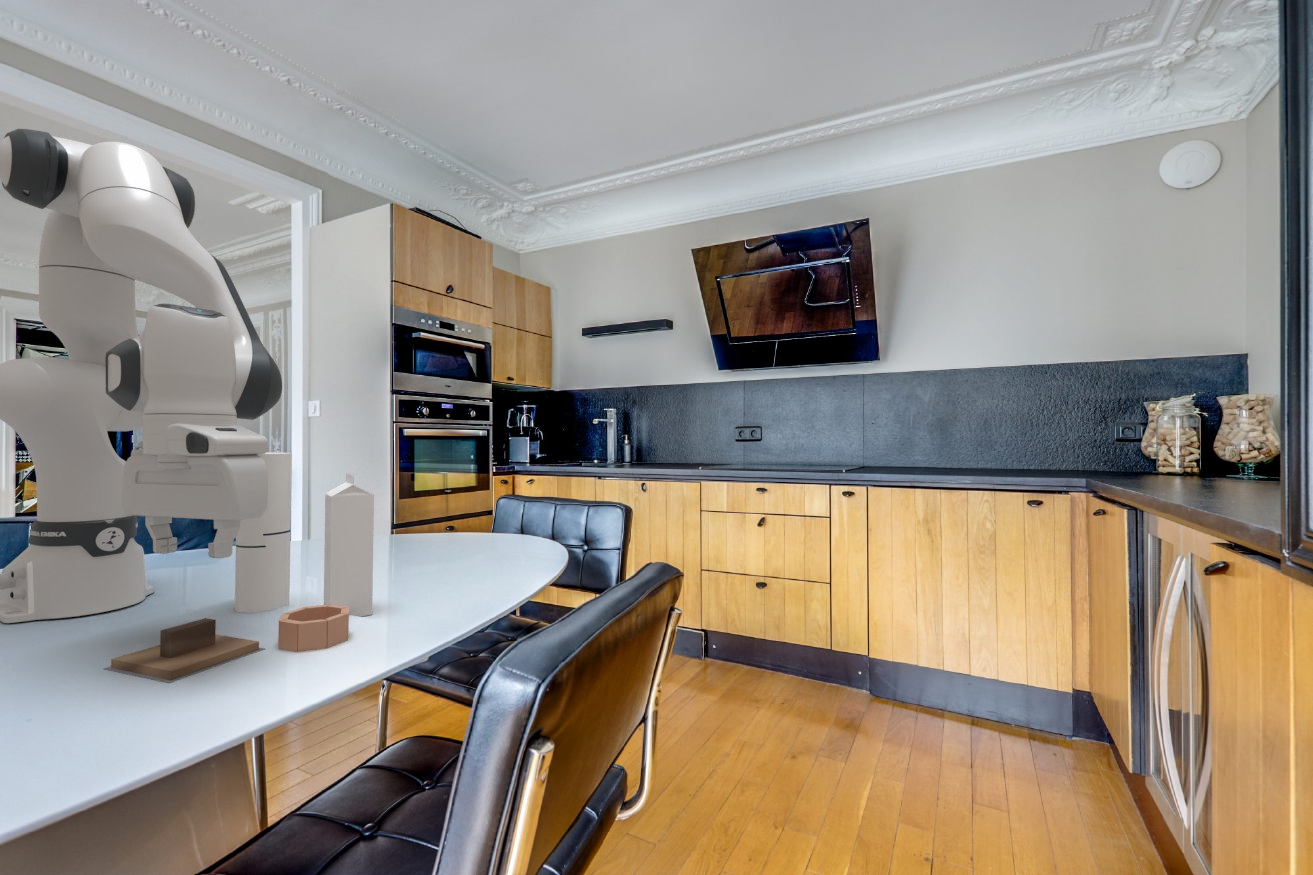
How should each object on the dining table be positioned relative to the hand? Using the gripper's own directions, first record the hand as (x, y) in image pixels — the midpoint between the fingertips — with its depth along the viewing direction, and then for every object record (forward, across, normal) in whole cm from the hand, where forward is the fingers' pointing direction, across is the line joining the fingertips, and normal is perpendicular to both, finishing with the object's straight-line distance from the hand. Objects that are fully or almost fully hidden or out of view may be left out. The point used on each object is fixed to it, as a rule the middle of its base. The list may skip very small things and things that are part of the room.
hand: (192, 555), depth 70 cm
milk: (+14, 0, +23) cm, 27 cm away
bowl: (+14, +8, +10) cm, 19 cm away
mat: (+13, -1, 0) cm, 13 cm away
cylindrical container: (+14, -13, +19) cm, 27 cm away
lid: (+12, -1, 0) cm, 12 cm away
